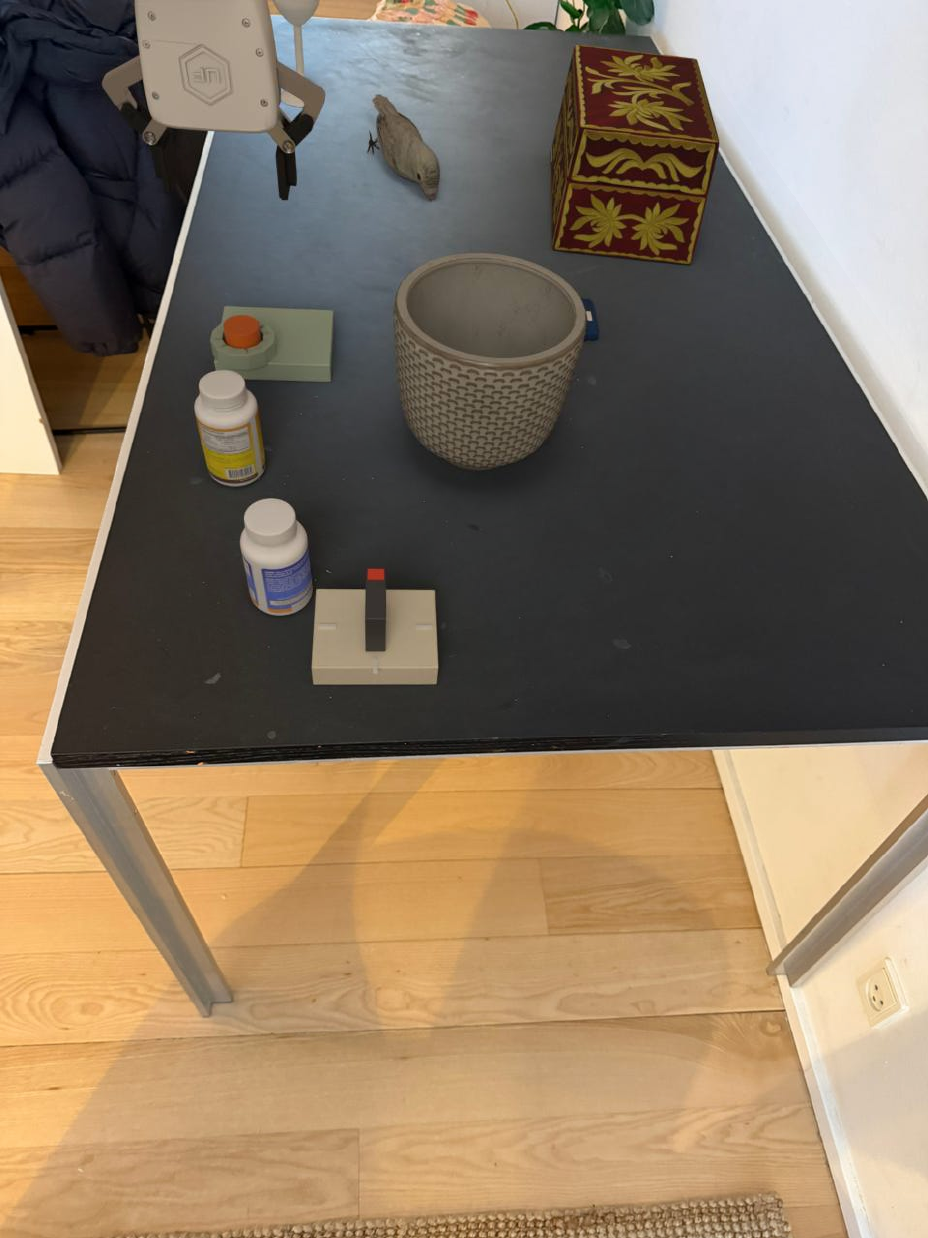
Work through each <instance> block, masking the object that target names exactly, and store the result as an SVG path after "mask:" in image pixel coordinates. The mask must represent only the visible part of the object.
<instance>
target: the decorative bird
mask: <svg viewBox="0 0 928 1238" xmlns="http://www.w3.org/2000/svg"><path fill="white" fill-rule="evenodd" d="M371 101H372V104H373V105H374V109H375V110H376V111H377V112H378V114H377V116H376V120H375V121H376V122H375V128H376V138H375V140H373V135H372V132H371V131H370V130H368V133H369V140H368V148H367V151H366V154H368V153H369V152H370V151H372V155H374V153H375V149H377V150H381V153H382V154H383V158H384V159H385V161H386V163H387V164H388V166H389V167H390V168H391V169H392V171H393V172H394V173H396V174H397V175H399V176H400V177H404V178H406V179H408V180H410V181H412V182H417V184H418V185H419V186H420V187H421V189H422V191H423V193H424V194H425V196H426V197H427V198H428V199H429V201H431V202H433V200H434V199H435V197H436V195H437V193H438V189H439V185H440V179H441V168H440V167H441V166H440V163H439V160H438V157H437V155H436V153H435V152H434V150H432V148H431V147H430V146H429V145H428V144H426V142H424V139H423V138H422V135H421V133H420V131H419V129H418V128H417V126H416V124H415V123H414V122H413V121H412V120H411V119H410V118H408V117H407V116H405V115H404V114H403V113H401V112H399V111H398V110H397V108H396V107H395V105H394V103H392V102H391V101H389V98H388V97H386V96H383V94H380V93H377V94H375V96H374V97H373V98H372V99H371ZM377 143H378V144H379V146H380V147H379V146H378V145H377ZM376 146H377V147H376Z"/></svg>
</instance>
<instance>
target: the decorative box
mask: <svg viewBox="0 0 928 1238" xmlns="http://www.w3.org/2000/svg"><path fill="white" fill-rule="evenodd" d="M697 59H698V58H694V57H687V56H678V55H669V54H660V53H653V52H643V51H636V50H635V51H634V50H627V49H617V48H609V47H601V46H593V45H584V44H575V45H574V46H573V49H572V53H571V58H570V63H569V64H570V65H569V67H568V72H567V77H566V80H565V85H564V90H563V96H562V99H561V104H560V108H559V112H558V117H557V120H556V121H557V122H556V125H555V130H554V134H553V139H552V143H551V148H552V162H551V161H550V202H551V203H550V204H551V205H550V206H551V246H552V250H553V251H560V252H567V253H568V252H569V253H577V254H584V255H585V254H586V255H595V256H605V257H613V258H623V259H632V260H640V261H649V262H650V261H651V262H657V263H658V262H660V263H669V264H677V265H692V264H693V261H694V257H695V253H696V248H697V244H698V240H699V235H700V230H701V226H702V223H703V219H704V214H705V209H706V206H707V200H708V195H709V192H710V188H711V184H712V181H713V175H714V171H715V167H716V162H717V158H718V154H719V149H720V137H719V135H718V130H717V126H716V123H715V118H714V116H713V112H712V108H711V104H710V100H709V98H708V93H707V90H706V87H705V82H704V79H703V75H702V71H701V68H700V65H699V61H698V60H697Z"/></svg>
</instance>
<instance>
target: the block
mask: <svg viewBox="0 0 928 1238" xmlns="http://www.w3.org/2000/svg"><path fill="white" fill-rule="evenodd" d="M334 314H335V313H334V310H332V309H308V308H282V307H261V306H260V307H257V306H235V305H234V306H232V305H224V307H223V312H222V317H221V321H220V322H221V323H220V324H218V325H217V326H216V327H214V328H213V329H212V330H211V335H210V339H209V342H210V348H211V352H212V353H211V354H212V356H213V357H214V358H213V359H214V360H213V364H214V371H217V370H229V371H233V372H236V373H238V374H239V375H241V376H242V377H243V379H244V380H248V381H249V380H250V381H280V382H281V381H282V382H284V381H286V382H308V383H309V382H313V383H314V382H315V383H331V382H332V371H333V370H332V369H333V353H334V338H335V337H334V336H335V315H334ZM237 315H247V316H251V317H253V318H255V319H256V320H257V321H258V323H259V327H260V335H261V341H260V343H259V344H258V345H257V346H254V347H250V348H247V349H241V348H233V347H231V346H229V345H228V344H227V343H226V339H225V333H224V327H223V326H224V322H225V321H226V320H227V319H228V318H230V317H233V316H237Z"/></svg>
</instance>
